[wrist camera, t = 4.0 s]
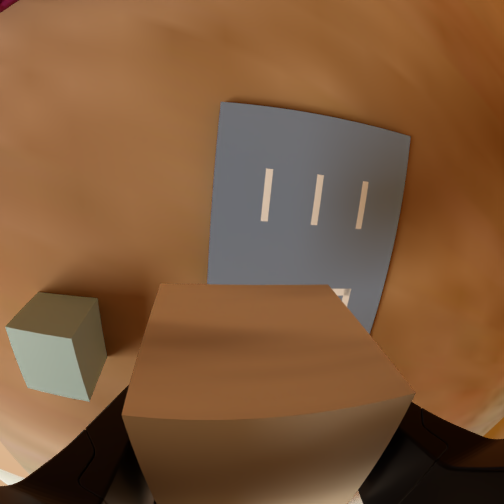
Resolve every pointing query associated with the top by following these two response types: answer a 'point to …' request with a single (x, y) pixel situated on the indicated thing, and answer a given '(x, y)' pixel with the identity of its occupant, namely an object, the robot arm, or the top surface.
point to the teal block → (59, 344)
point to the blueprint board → (305, 203)
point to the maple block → (259, 396)
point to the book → (6, 4)
